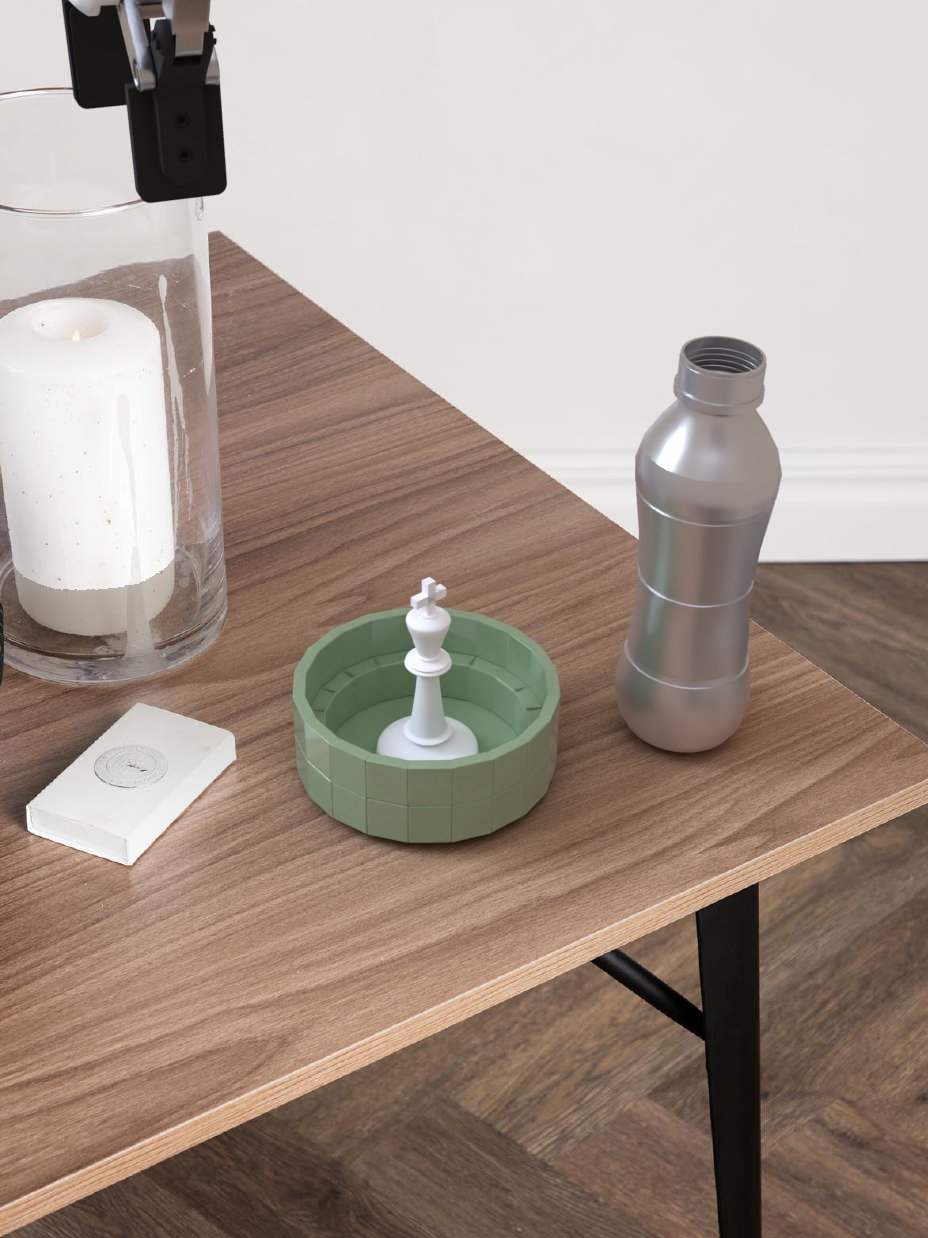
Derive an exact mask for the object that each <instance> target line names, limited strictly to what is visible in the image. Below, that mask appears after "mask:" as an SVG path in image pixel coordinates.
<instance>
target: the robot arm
mask: <svg viewBox="0 0 928 1238" xmlns="http://www.w3.org/2000/svg"><path fill="white" fill-rule="evenodd" d="M60 1H61V8H62V16H63V23H64V31H65V39H66V47H67V49H66V50H67V55H68V63H69V72H70V78H71V89H72V95H73V99H74V100H75V102H76V104H77V105H78V107H80V108H81V109H84V110H90V109H102V108H112V107H121V106H122V107H123V106H126V112H127V120H128V121H127V122H128V132H129V141H130V150H131V151H130V152H131V159H132V169H133V178H134V188H135V192H136V193H137V195H138V197H140V199H141V201H142V202H145V203H146V204H154V203H163V202H171V201H180V200H187V199H196V198H205V197H212V196H218V195H221V194H223V193H224V192H225V191H226V189H227V186H228V177H227V161H226V148H225V135H224V119H223V105H222V91H221V73H220V71H221V70H220V63H219V58H218V54H217V51H216V45H217V43H218V38H216V37H214V32H215V33H216V32H217V30H216V28H215V25H214V24H211V22H210V13H211V1H212V0H60ZM151 19H155V21H154V26H153V29H152V27H151Z"/></svg>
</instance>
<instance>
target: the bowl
mask: <svg viewBox="0 0 928 1238" xmlns="http://www.w3.org/2000/svg"><path fill="white" fill-rule="evenodd" d="M440 607H441V608H443V609H444V610H446V611H447V612H448V613H449V615H450V617H451V624H450V627H449V630H448V632H447V633H446V636H445V638H444V641H443V644H442V646H441V648H442V649H444V650H445V651H447V652H448V654H449V655H450V658H451V661H452V665H451V667H450V669H449V670H448V671H447V672H446V673H444V674H442V675H440V676H439V680H440V690H441V697H442V704H443V711H444V716H446V717H450V718H453V719H455V720H457V721H459V722H461V723H463V724H464V725H465V726H467V727H468V728H469V729H470V730H471V731H472V732H473V734H474V735H475V737H476V739H477V743H478V750H479V754H475V755H470V756H466V757H461V758H457V759H452V760H405V759H400V758H394V757H389V756H384V755H379V754H376V749H377V742H378V739H379V737H380V735H381V733H382V732H383V731H384V730H385V729H386V728H387V727H388V726H389V725H390V724H392V723H393V722H395V721H397V720H399V719H402V718H404V717H408V716H411V715H412V709H413V703H414V697H415V690H416V681H417V675H415V674H413V673H411V672H410V671H408V670H407V668H406V667H405V658H406V656H407V654H408V652H409V651H411V650H412V649H414V648H416V647H415V645H414V643H413V639H412V636H411V634H410V632H409V630H408V627H407V624H406V616H407V614H408V613H409V612H410V611H411V610H412V609H414V608H413V607H412V606H409V607H406V606H405V607H398V608H393V609H388V610H383V611H377V612H372V613H367V614H363V615H362V616H361V615H360V616H359V617H357V618H354V619H351V620H350V621H347V622H345V623H343V624H340V625H338V626H335V627H333V628H332V629H330V630H329V631H327V633H325V634H324V635H323V636H322V637H320V638H319V639H317V640H316V641H315V642H313V644H311V645H310V646H309V647H308V648H307V650H306V651H305V652H304V654H303V656H302V658H301V659H300V661H299V663H298V664H297V666H296V668H295V669H294V672H293V680H292V713H293V730H294V731H293V732H294V747H295V763H296V772H297V774H298V776H299V778H300V781H301V783H302V785H303V788H304V789H305V792H306V794H307V796H308V797H309V798H310V800H312V801H313V802H314V803H315V804H316V805H318V806H319V807H320V808H321V809H322V810H323V811H324V812H325V813H326V814H327V815H328V816H330V818H332V819H334V820H335V821H337V822H340V823H342V824H344V825H347V826H348V827H351V828H353V829H354V830H357V831H359V832H361V833H363V834H365V835H368V836H372V837H378V838H381V839H386V840H387V839H388V840H391V841H397V842H402V843H409V844H424V843H425V844H431V843H432V844H433V843H434V844H435V843H437V844H438V843H456V842H460V841H464V840H465V841H466V840H469V839H473V838H477V837H481V836H485V835H490V834H492V833H494V832H496V831H498V830H500V829H502V828H504V827H505V826H507V825H509V824H511V823H513V822H515V821H517V820H519V819H521V818H523V817H524V816H526V814H527V813H528V812H529V811H530V810H532V808H533V807H534V806H535V805H536V804H537V803H538V802H539V801H540V800H541V799H542V798H543V797H544V796H545V795H546V794H547V792H548V789H549V787H550V785H551V784H550V783H551V781H552V779H553V776H554V773H555V771H556V767H557V755H558V744H559V743H558V741H559V726H560V715H561V713H560V711H561V701H562V700H561V699H562V694H561V686H560V678H559V671H558V669H557V667H556V666H555V664H554V663H553V661H552V660H551V658H550V657H549V655H548V654H547V653H546V651H545V649H544V648H543V647H542V645H540V644H539V643H537V641H535V640H533V639H532V638H530V637H529V636H528V635H527V634H526V633H524V632H523V631H521V630H519V629H518V628H517V627H516V626H512V625H510V624H508V623H505V622H503V621H500V620H498V619H495V618H493V617H490V616H488V615H485V614H482V613H477V612H473V611H467V610H461V609H456V608H450V607H445V606H443V607H442V606H440Z"/></svg>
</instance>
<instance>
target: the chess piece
mask: <svg viewBox="0 0 928 1238" xmlns="http://www.w3.org/2000/svg"><path fill="white" fill-rule="evenodd" d="M446 597H447V587H446V586H444V585H443V584H441V583H439V584H437V581H436V580H435V579H433V578H432V577H430V576H429V577H426V578H423V579H422V580H421V592H419V593H417V594H415V595H413V596H411V597H410V607H413V608H414V609H412V610H411V611H410V612H409V613H408V614H407V616H406V624H407V627H408V630H409V632H410V634H411V636H412V639H413V643H414V645H415V647H416V648H414V649H412V650H411V651H409V652H408V654H407V656H406V658H405V667H406V668H407V670H408V671H410V672H411V673H413V674H415V675H417V681H416V690H415V697H414V703H413V709H412V715H411V716H408V717H404V718H402V719H399V720H397V721H395V722H393V723H392V724H390V725H389V726H388V727H387V728H386V729H385V730H384V731H383V732H382V733H381V735H380V737H379V739H378V742H377V749H376V754H379V755H384V756H389V757H394V758H400V759H405V760H452V759H457V758H461V757H466V756H470V755H475V754H479V750H478V743H477V739H476V737H475V735H474V734H473V732H472V731H471V730H470V729H469V728H468V727H467V726H465V725H464V724H463V723H461V722H459V721H457V720H455V719H453V718H450V717H446V716H444V711H443V704H442V697H441V690H440V680H439V676H440V675H442V674H444V673H446V672H447V671H448V670H449V669H450V667H451V665H452V661H451V658H450V655H449V654H448V652H447V651H445V650H444V649H442V648H441V646H442V644H443V641H444V638H445V636H446V633H447V632H448V630H449V627H450V624H451V617H450V615H449V613H448V612H447V611H446V610H444V609H443V608H444V607H443V608H441V607H442V606H437V605H436V603H437V601H439V600H442V599H444V598H446Z"/></svg>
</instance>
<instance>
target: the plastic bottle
mask: <svg viewBox="0 0 928 1238" xmlns="http://www.w3.org/2000/svg"><path fill="white" fill-rule="evenodd" d="M678 356H679V357H678V365H677V373H675V376H674V378H673V385H672V392H673V394H674V396H675V398H676V400H675V401H673V402H672V403H671V404H670V405H669V406H668V407H667V408H665V410H664V411H662V413H661V414H660V415H659V416H658V417H657V418H656V419H655V420H654V421H653V423H652V424H651V425H650V426H649V427H648V429H647V430H646V431H645V432H644V434H643V436H642V439H641V441H640V443H639V446H638V448H637V451H636V454H635V456H634V482H635V497H636V511H637V526H638V547H637V564H638V565H637V574H636V575H637V576H636V577H637V578H636V579H637V580H636V586H635V593H634V598H633V602H632V603H633V604H632V609H631V613H630V614H631V615H630V619H629V625H628V630H627V634H626V637H625V640H624V643H623V645H622V649H621V651H620V654H619V658H618V663H617V666H616V670H615V675H614V688H615V696H616V703H617V705H616V706H617V709H618V712H619V714H620V716H621V718H622V719H623V721H624V722H625V723H626V725H627V726H628V728H629V729H630V730H631V732H633V734H635V736H637V737H638V738H639V739H641V740H642V741H643V742H645V743H647V744H649V745H651V746H653V747H656V748H659V749H662V750H665V751H670V752H674V753H687V754H689V753H699V752H704V751H708V750H711V749H714V748H716V747H718V746H719V745H721V744H723V743H724V742H725V741H727V740H728V739H730V737H732V736H733V735H734V734H735V733H736V732H737V731H738V730H739V728H740V726H741V725H742V723H743V721H744V717H745V714H746V712H747V709H748V706H749V704H750V700H751V697H752V694H751V691H752V689H751V688H752V687H751V686H752V685H751V683H752V682H751V679H752V677H751V674H752V673H751V666H750V665H751V664H750V654H749V639H750V638H749V637H750V616H751V598H752V593H753V588H754V583H755V577H756V573H757V568H758V564H759V559H760V554H761V549H762V546H763V543H764V539H765V536H766V534H767V530H768V526H769V524H770V520H771V517H772V513H773V510H774V508H775V504H776V500H777V499H778V495H779V490H780V485H781V482H782V481H781V480H782V477H783V471H782V465H781V458H780V454H779V449H778V446H777V445H776V442H775V439H774V438H773V436H772V434H771V432H770V430H769V428H768V426H767V424H766V423H765V421H764V420H763V418H762V417H761V415H760V413H759V412H758V408H759V407H760V406H761V405H762V404H763V402H764V399H765V393H766V388H765V384H764V383H765V377H766V371H767V365H768V364H767V355H766V353H765V352H764V351H763V350H762V349H761V348H760V347H758V346H757V345H755V344H753V343H751V342H749V341H747V340H743V339H741V338H736V337H732V336H726V335H706V336H705V335H704V336H699V337H695V338H693V339H689V340H688V341H686V342H685V343H684V344H683V345H682V347H681V349H680V352H679V355H678Z"/></svg>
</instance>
